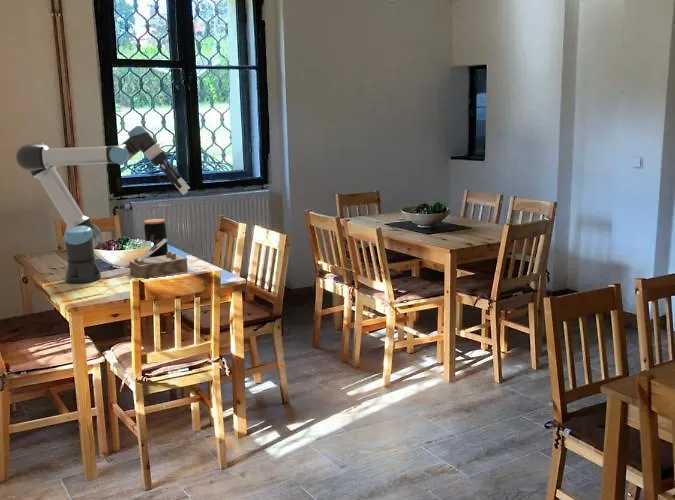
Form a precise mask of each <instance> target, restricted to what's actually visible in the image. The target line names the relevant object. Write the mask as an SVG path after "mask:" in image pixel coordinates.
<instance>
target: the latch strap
mask: <svg viewBox="0 0 675 500" xmlns="http://www.w3.org/2000/svg"><path fill="white" fill-rule="evenodd" d="M168 241H169V240H168V238H167V239H165V238H164V239H163V240H162V241H161V242H159V243H158V244H157V245H154V246H153V247H152V248H151V249H150V250H149V251H148V252H147V251H146V252H145V253H144V254H143V255H142V256H140V257H138V258H139V259H137V260H136V262H138V261H139V260H144V259H146V258H149V255H151V254H152V253H153V252H154V251H156V250H157V249H158V248H160V247H161V246H162V245H163V244H165V243H166V242H167V243H168Z"/></svg>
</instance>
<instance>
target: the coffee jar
mask: <svg viewBox="0 0 675 500" xmlns="http://www.w3.org/2000/svg"><path fill="white" fill-rule="evenodd" d="M143 224H144V226H143V230H144V241H145V242H146V241H151V242H153V243H154V245H157V244H158V243H159V242H161V241H162V240H163V239H164V238H165V239H167V240H168V237H167V228H166V219H164V218H151V219H145V220H143ZM166 252H169V249H168V241H167V242H166V243H165V244H163V245H162V246H161V247H160V248H158V249H157V250H156V251H154V252H153V253H152V254H151V255H149V256H150V257H149V256H148V257H149V258H151V257H157V256H163V255H167V254H166Z"/></svg>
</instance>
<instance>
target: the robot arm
mask: <svg viewBox="0 0 675 500" xmlns="http://www.w3.org/2000/svg"><path fill="white" fill-rule="evenodd" d="M127 135H128V138H127V139H126V140H125V141H124V142H122V143H121V144H119V145H108V146H107V145H104V146H81V147H79V146H78V147H58V148H55V147H53V148H50V147H49V146H48V145H46V143H45V144H44V143H42V142H31V143H28V144H24V145H22V146H20V147H19V148H18V149H17V151H16V153H15V160H16V163H17V164H18V166H19V167H20V168H21V169H23V170H25V171H29V173H30V174H31V176H32V177H33V178H35V179H38V180H39V182H40V184H41V186H42V187H43V188H44V190H45V192H46V194H47V195H48V197H49V198H50V200H51V201H52V203H53V206H55V208H56V210H57V211H58V213H59V215H60V216H61V218H62V220H63V222H64V223H65V224H66V227H65V228H66V229H65V231H64V235H63V239H64V244H65V252H66V259H67V260H66V261H67V266H66V270H65V276H64V278H65V283H67V284H86V283H92V282H95V281H98V280H100V279H101V278H102V275H101V271H100V269H99V266H98V264H97V262H96V258H95V248H97V246H99V244H100V242H101V238H102V232H101V230H100V228H99V227H98V226H97V225H95V224H94V223H93V222H92V220H91V219H90V217H89V216H86V215H84V214H83V211H82V210H81V208H80V207H79V205H78V204H77V202H76V200H75V199H74V197H73V195H72V194H71V192H70V190H69V189H68V187H67V186H66V184H65V183H64V181H63V180H62V177H61V175H60V174H59V172H58V171H57V167H59V166H61V167H62V166H79V165H98V164H102V165H103V164H118V165H119V166H124V165H125V164H126V163H128V162H129V160H132V158H133V157H134V156H136V155H137V154H138V153H139V152H141V151H142V153H143V154H144V155H145V157H146V158H147V159H148V161H149V160H150V162H151V163H152V165H153V166H154V167H158V166H159V168H160V169H161V171H163V173H164V174H165V175H166V177H167V178H168V179H169V181H170V182H171V183H170V184H171V185H174V186H175V187H176V189H178V191H179V192H180V193H181V195H182V196H184V195H185V194H187V193H188V190H190V189H191V187H190V186H189V184H187V182H186V181H185V180H184V179H183V178H182V177H183V175H182V174H180V173H179V172H178V171H177V170H176V169H175V168H174V167H173V166H172V165H171V163H170V162H169V161H168V160H166V159H168V158H169V156H168V154H167V153H166V152H165V151H163V149H162V147H161V145H160V143H157V141H156V140H155V139H154V138H153V136H152V135H151V134H150V133H149V131H147V129H146V128H145V127H144V126H143V125H142V124H138V125H136V126H134V127H133V128H132V129H131V130H129V131H128V133H127Z"/></svg>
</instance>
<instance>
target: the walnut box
mask: <svg viewBox="0 0 675 500" xmlns="http://www.w3.org/2000/svg"><path fill="white" fill-rule="evenodd" d="M166 254H167V255H163V256H157V257H147V258H146V259H144V260H139V261H138V262H136V260H137V259H139V258H140V257H138V258H134V259H132V260H129V269H130V270H129V271H130V275H132V276H135V277H136V278H138V277H140V278H147V279H151V278H150V277H152V278H156V277H155V276H158V277H162V276H161V275H163V276H167V275H174V274H179V273H185V272H188V259H187V258H186V257H184V256H182V255H179V254H177V253H175V252H174V253H172V251H168V252H166ZM140 278H139V279H140Z"/></svg>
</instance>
